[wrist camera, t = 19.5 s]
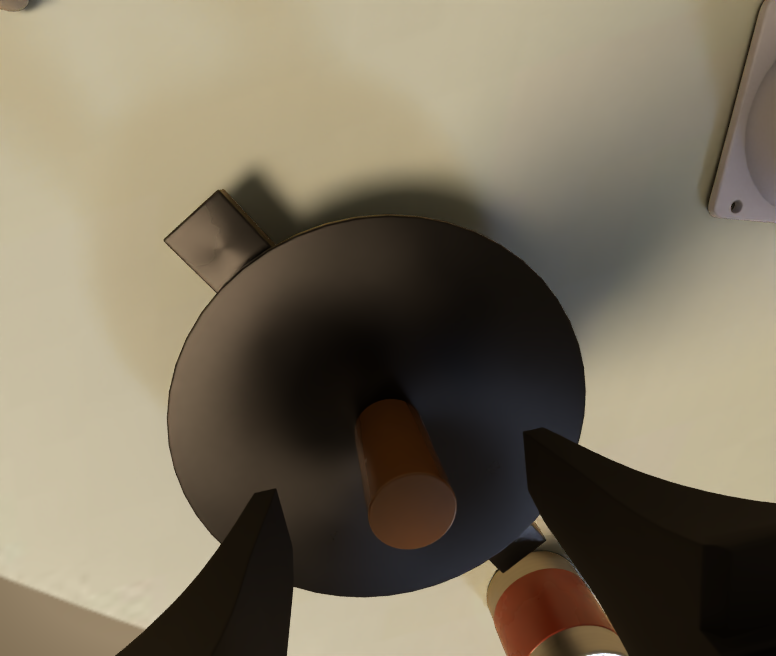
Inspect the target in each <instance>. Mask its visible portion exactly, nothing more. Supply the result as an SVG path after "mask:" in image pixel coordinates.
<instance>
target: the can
mask: <svg viewBox="0 0 776 656" xmlns="http://www.w3.org/2000/svg"><path fill="white" fill-rule="evenodd" d="M487 605H488V608H489V611H490V613H491V616H492V618H493V621H494V624H495V628H496V631H497V633H498V636H499V638H500V641H501V643H502V646H503V648H504V651H505V653H506V655H507V656H629V655H628V653H627V652H626V650H625V648H624V646H623V644H622V642H621V640H620V638H619V637H618V635H617V633H616V631H615V629H614V628H613V626H612V624H611V622H610V620H609V619H608V617H607V616H606V614H605V613H604V611H603V610H602V608H601V607H600V605H599V603H598V602H597V600H596V599H595V597H594V596H593V594H592V593H591V591H590V590H589V588H588V587H587V585H586V584H585V583H584V581H583V580H582V579H581V578H580V577H579V575H578V574H577V572H576V571H575V569H574V568H573V566H572V565H571V564H570V562H569V561H568V560H567V559H565V558H564V557H562V556H560V555H558V554H556V553H552V552H547V551H535V552H531V553H529V554H528V555H527V556H526V557H524V558H523V559H522V560H520V561H519V562H518V563H517V564H515V565H514V566H513V567H511V568H510V569H509V570H508V571H506V572H505V573H502V572H501V571H500V570H498V571H497V573H496V574H495V575H494V577H493V578H492V580H491V582H490V584H489V587H488V591H487Z"/></svg>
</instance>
